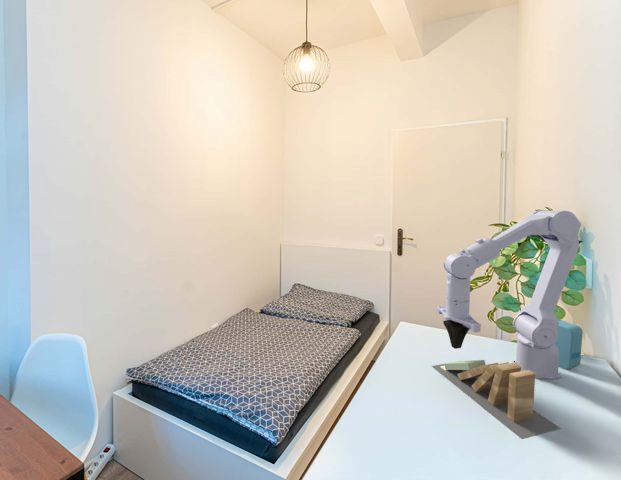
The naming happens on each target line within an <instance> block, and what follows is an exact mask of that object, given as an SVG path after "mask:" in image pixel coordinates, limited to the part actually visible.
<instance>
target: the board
mask: <svg viewBox="0 0 621 480" xmlns="http://www.w3.org/2000/svg"><path fill="white" fill-rule="evenodd" d="M444 364H445V363H440V364H435V365H431V367H432V368H433V370H435V371H436V372H438V373H439V374H441V376H443V377H444V378H445V379H447V380H448V381H449V382H450V383H451V384H453V385H454V386H455V387H456V388H457V389H459V390H460V391H462V393H464V394H465V395H467V396H468V397H469V398H470V399H471V400H473V401H474V402H475V403H476V404H478V405H479V406H480V407H481V408H482V409H484V410H485V411H486V412H487V413H489V414H490V415H491V416H493V417H494V418H495V419H496V420H497V421H499V422H500V423H501V424H502V425H504V426H505V427H506V428H508V429H509V430H510V431H511V432H512V433H514V434H515V435H516V436H518V437H519V438H520V439H521V440H522V439H528V438H530V437H535V436H538V435H541V434H546V433H550V432H554V431H557V430H559V431H560V430H561V429H562V428H561V427H560V426H558V425H557V424H555V423H554V422H552V421H551V420H550V419H548V418H547V417H545V416H544V415H542V414H541V413H539V412H538V411H536V410H535V409H533V418H529V419H525V420H520V421H516V422H513V421H511V420H510V419H509V418H508V417H507V412H508V403H505V404H500V405H496V406H492V405H491V404H490V403H489V402H488V397H489V394H490V390H491V389H490V390H486V391H481V392H476V393H475V391H474V390H473V388H472V385H473V384H474V383H475V382H476V381H477V380H478V378H479V377H476V378H471V379H466V380H461V381H460V380H459V378H458V375H457V374H459V373H462V372H465V371H467V370H446V369H445V365H444Z"/></svg>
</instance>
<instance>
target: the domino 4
mask: <svg viewBox="0 0 621 480" xmlns="http://www.w3.org/2000/svg"><path fill="white" fill-rule="evenodd" d="M535 383H536V378H535V373H533V372H532V371H530V370H525V371H520V372H515V373H510V374H509V393H508V412H507V417H508V418H509V419H510V420H511V421H513V422H516V421H520V420H525V419H529V418H533V410H534V401H535V385H536V384H535Z"/></svg>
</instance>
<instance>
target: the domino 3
mask: <svg viewBox="0 0 621 480" xmlns="http://www.w3.org/2000/svg"><path fill="white" fill-rule="evenodd" d="M521 368H522V367H521V366H520V365H518V364H517V363H516V361H515V362H509V364H503V365H498V366H497V368H496V372H495V376H494V379H493V383H492V386H491V390H490V394H489V397H488V402H489V403H490V404H491V405H492V406H496V405H500V404H505V403H508V393H509V374H510V373H515V372H520V371H521Z"/></svg>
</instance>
